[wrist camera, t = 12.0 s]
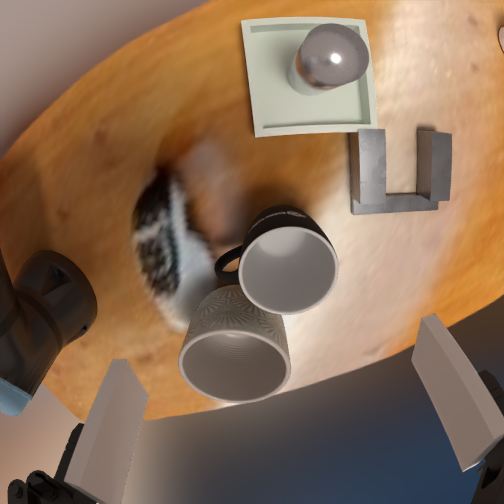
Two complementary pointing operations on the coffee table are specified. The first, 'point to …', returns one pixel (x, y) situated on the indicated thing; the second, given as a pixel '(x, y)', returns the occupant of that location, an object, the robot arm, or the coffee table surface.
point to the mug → (283, 262)
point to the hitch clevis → (374, 173)
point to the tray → (286, 98)
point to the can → (501, 38)
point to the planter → (234, 349)
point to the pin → (328, 60)
